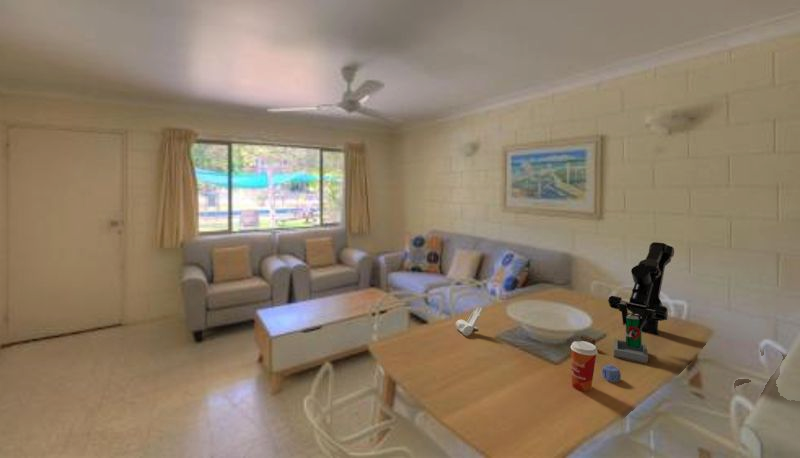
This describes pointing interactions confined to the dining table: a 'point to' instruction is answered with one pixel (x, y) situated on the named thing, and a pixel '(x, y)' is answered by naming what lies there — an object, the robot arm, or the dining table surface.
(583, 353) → the paper cup
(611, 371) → the decorative dice
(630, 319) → the soda can
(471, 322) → the plastic part
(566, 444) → the dining table surface
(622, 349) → the tray
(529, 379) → the dining table surface
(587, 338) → the brown rectangular block
